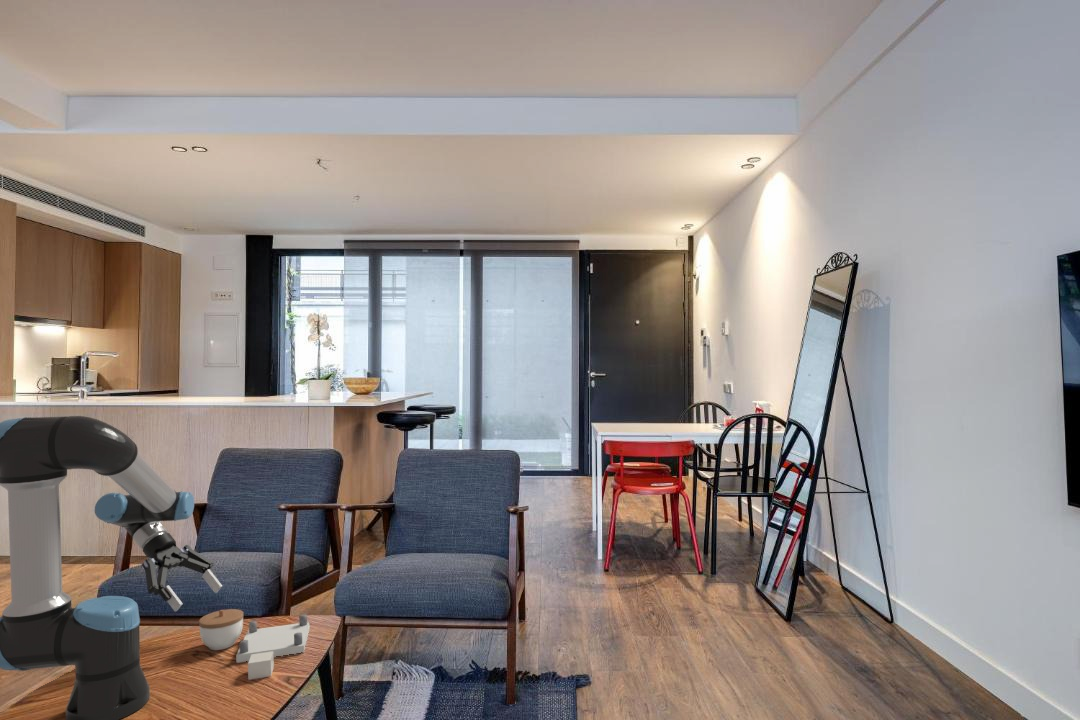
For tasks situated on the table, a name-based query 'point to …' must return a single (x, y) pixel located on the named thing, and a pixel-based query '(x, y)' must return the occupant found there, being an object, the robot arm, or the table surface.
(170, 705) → the table surface
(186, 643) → the table surface
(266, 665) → the plain off-white block
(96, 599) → the robot arm
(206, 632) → the lidded jar
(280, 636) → the grey stand
